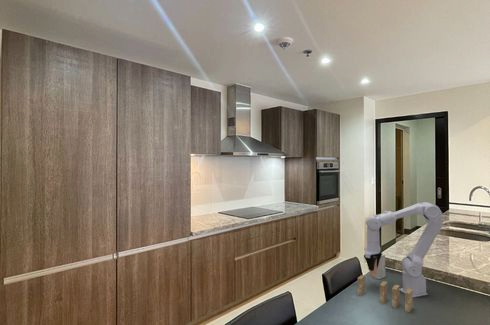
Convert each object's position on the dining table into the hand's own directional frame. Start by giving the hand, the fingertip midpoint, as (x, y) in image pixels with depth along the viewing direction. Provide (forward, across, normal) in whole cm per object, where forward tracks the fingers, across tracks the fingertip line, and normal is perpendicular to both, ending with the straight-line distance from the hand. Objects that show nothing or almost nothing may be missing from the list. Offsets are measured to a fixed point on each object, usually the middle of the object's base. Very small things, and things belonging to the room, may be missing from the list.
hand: (373, 268), depth 133 cm
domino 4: (+10, +9, +13) cm, 18 cm away
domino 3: (+10, +9, +8) cm, 15 cm away
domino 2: (+3, 0, 0) cm, 3 cm away
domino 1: (+10, +9, -2) cm, 14 cm away
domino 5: (+10, +9, +18) cm, 22 cm away
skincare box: (+10, -16, -3) cm, 19 cm away
